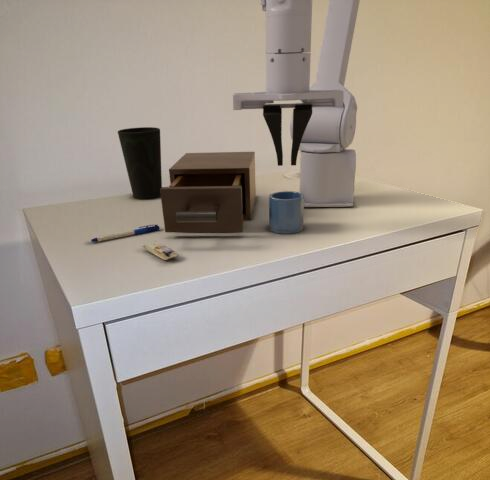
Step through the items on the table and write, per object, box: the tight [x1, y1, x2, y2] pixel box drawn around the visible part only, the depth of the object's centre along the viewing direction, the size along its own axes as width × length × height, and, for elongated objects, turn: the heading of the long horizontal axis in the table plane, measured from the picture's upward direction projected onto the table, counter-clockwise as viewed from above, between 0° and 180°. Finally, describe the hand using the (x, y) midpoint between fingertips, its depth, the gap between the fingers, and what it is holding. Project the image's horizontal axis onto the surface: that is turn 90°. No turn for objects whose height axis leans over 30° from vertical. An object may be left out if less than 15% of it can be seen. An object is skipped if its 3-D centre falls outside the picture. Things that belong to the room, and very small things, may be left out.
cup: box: [117, 126, 163, 200], centre depth 88 cm, size 8×8×12 cm
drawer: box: [160, 173, 245, 233], centre depth 70 cm, size 18×11×6 cm, turn 176°
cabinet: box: [168, 151, 257, 221], centre depth 80 cm, size 15×13×8 cm
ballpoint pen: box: [90, 224, 160, 243], centre depth 70 cm, size 10×1×1 cm, turn 122°
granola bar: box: [141, 240, 179, 261], centre depth 62 cm, size 7×2×1 cm, turn 37°
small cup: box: [268, 190, 305, 235], centre depth 70 cm, size 5×5×5 cm
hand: (286, 164), depth 66 cm, fingers closed
